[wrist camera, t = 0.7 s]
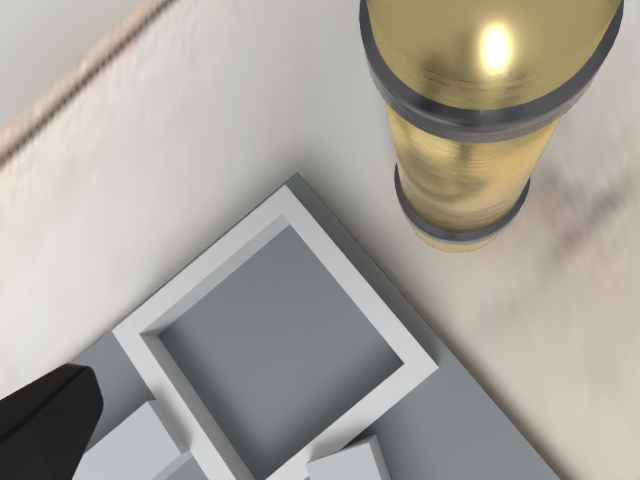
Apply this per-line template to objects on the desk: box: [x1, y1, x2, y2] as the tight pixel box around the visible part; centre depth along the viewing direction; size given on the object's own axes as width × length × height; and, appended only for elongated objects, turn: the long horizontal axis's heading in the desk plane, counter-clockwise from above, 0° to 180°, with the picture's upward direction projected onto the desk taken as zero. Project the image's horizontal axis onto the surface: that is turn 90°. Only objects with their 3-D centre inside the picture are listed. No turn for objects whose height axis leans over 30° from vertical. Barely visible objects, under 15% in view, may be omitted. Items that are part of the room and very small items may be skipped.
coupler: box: [359, 0, 624, 253], centre depth 16 cm, size 4×4×14 cm
